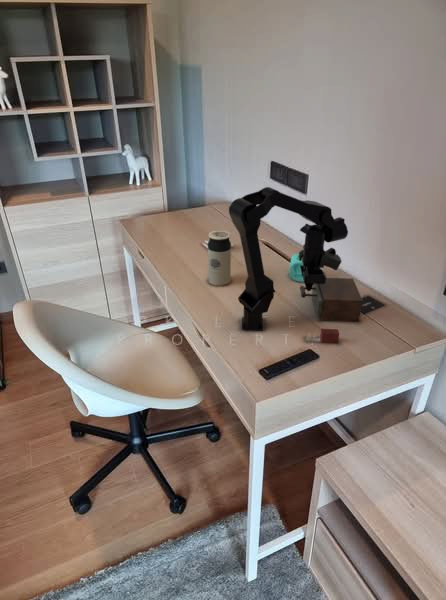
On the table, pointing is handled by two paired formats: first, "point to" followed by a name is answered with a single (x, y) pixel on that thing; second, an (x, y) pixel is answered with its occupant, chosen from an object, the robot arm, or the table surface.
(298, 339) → the table surface
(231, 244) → the lettered band ring
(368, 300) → the solid state drive
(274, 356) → the table surface
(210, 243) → the travel mug
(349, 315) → the cabinet
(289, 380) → the table surface
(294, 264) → the decorative dice
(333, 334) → the red usb flash drive
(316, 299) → the drawer
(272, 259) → the table surface
